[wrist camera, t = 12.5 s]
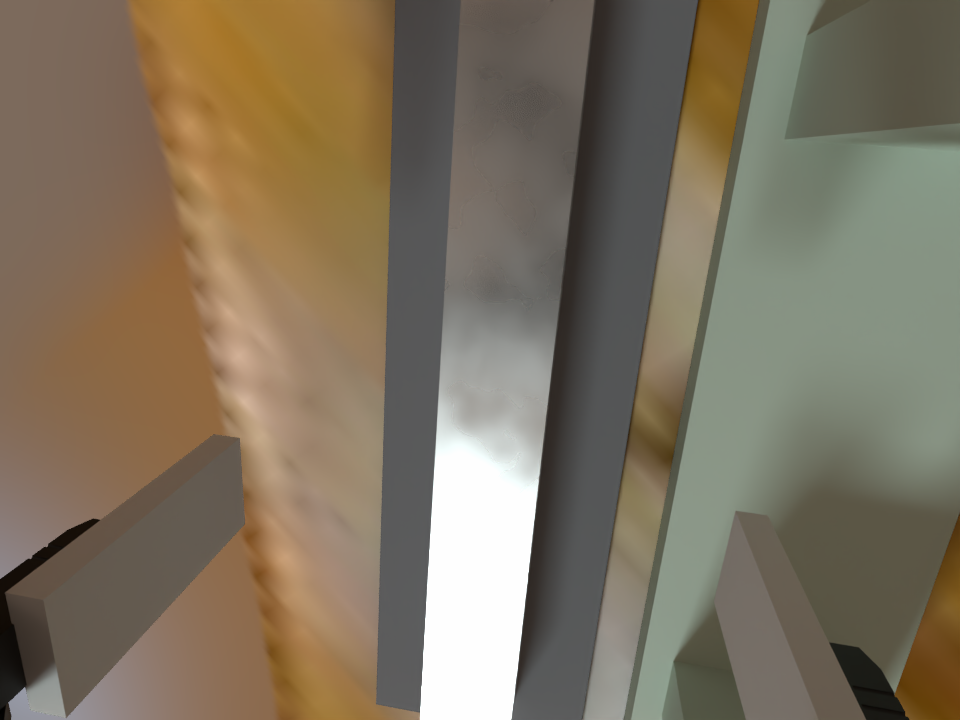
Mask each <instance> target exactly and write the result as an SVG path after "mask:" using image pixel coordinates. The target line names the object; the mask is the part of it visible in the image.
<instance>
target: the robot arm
mask: <svg viewBox="0 0 960 720" xmlns="http://www.w3.org/2000/svg"><path fill="white" fill-rule="evenodd" d="M244 524H245V517H244V501H243V484H242V468H241V452H240V438H236V437H229V436H222V435H215V434H214V435H212V436H211V437H210V438H208V439H207V440H206V441H204V442H203V443H202V444H200V445H199V446H198V447H196V448H195V449H194V450H192V451H191V452H190V453H188V454H187V455H186V456H185V457H183V458H182V459H181V460H179V461H178V462H177V463H175V464H174V465H173V466H171V467H170V468H169V469H168V470H166V471H165V472H163V473H162V474H161V475H159V476H158V477H157V478H156V479H154V480H153V481H152V482H150V483H149V484H148V485H146V486H145V487H144V488H142V489H141V490H140V491H138V492H137V493H136V494H135V495H133V496H132V497H131V498H129V499H128V500H127V501H125V502H124V503H123V504H121V505H120V506H119V507H118V508H116V509H115V510H113V511H112V512H111V513H109V514H108V515H107V516H106V517H104V518H103V519H101V520H98V519H91V520H89V521H87V522H84V523H83V524H80V525H78V526H75V527H73V528H71V529H69V530H67V531H66V532H64V533H63V534H61V535H60V536H59V537H57V538H56V539H55V540H53V541H52V542H50V543H49V544H48V547H44V548H42V549H41V550H40V551H38V552H37V553H35V554H34V555H33V556H32V559H27V560H26V561H24V562H23V563H22V564H20V565H19V566H18V567H16V568H15V569H14V570H12V571H11V572H9V573H8V574H7V575H5V576H4V577H2V578H1V579H0V720H11V713H10V708H9V704H8V702H9V701H10V700H11V699H13V698H14V696H16V695H17V694H18V693H19V692H20V691H21V690H22V689H23V688H24V687H25V688H26V692H27V697H28V701H29V706H30V710H32V711H36V712H41V713H45V714H50V715H54V716H59V717H64V718H67V716H68V715H69V714H70V713H71V712H72V711H73V710H74V709H75V708H76V707H77V706H78V704H79V703H80V702H81V701H82V700H83V699H84V698H85V697H86V696H87V695H88V694H89V693H90V691H91V690H92V689H93V688H94V687H95V686H96V685H97V684H98V683H99V682H100V681H101V680H102V679H103V677H104V676H105V675H106V674H107V673H108V672H109V671H110V670H111V669H112V668H113V666H114V665H115V664H116V663H117V662H118V661H119V660H120V659H121V658H122V656H124V655H125V654H126V652H127V651H128V650H129V649H130V648H131V647H132V646H133V645H134V644H135V643H136V642H137V640H138V639H139V638H140V637H141V636H142V635H143V634H144V633H145V632H146V631H147V630H148V629H149V628H150V626H151V625H152V624H153V623H154V622H155V621H156V620H157V619H158V618H159V617H160V616H161V614H162V613H163V612H164V611H165V610H166V609H167V608H168V607H169V606H170V605H171V604H172V602H173V601H174V600H175V599H176V598H177V597H178V596H179V595H180V594H181V593H182V592H183V591H184V590H185V588H186V587H187V586H188V585H189V584H190V583H191V582H192V581H193V580H194V579H195V578H196V577H197V575H198V574H199V573H200V572H201V571H202V570H203V569H204V568H205V567H206V566H207V565H208V564H209V562H210V561H211V560H212V559H213V558H214V557H215V556H216V555H217V554H218V553H219V552H220V550H221V549H222V548H223V547H224V546H225V545H226V544H227V543H228V542H229V541H230V540H231V539H232V537H233V536H234V535H235V534H236V533H237V532H238V531H239V530H240V529H241V528H242V527H243V526H244ZM714 604H715V607H716V611H717V615H718V619H719V622H720V626H721V630H722V633H723V637H724V641H725V644H726V648H727V652H728V655H729V659H730V663H731V667H732V670H733V674H734V678H735V681H736V685H737V689H738V692H739V696H740V700H741V703H742V707H743V711H744V715H745V718H746V720H909V718H908V717H905V711H904V709H903V707H902V706H901V704H900V702H899V700H898V698H897V697H895V696H894V691H893V690H892V688H891V686H890V684H889V682H888V681H887V679H886V677H885V675H884V673H883V672H882V670H881V669H880V668H879V667H878V666H877V665H876V664H875V663H874V662H873V661H872V660H871V659H870V658H869V657H868V656H867V655H866V654H865V653H864V652H863V651H862V650H861V649H860V648H859V647H854V646H848V645H842V644H836V643H831V642H828V639H827V637H826V635H825V633H824V631H823V629H822V627H821V625H820V623H819V621H818V619H817V617H816V614H815V612H814V610H813V608H812V606H811V604H810V602H809V600H808V598H807V596H806V594H805V592H804V590H803V587H802V585H801V583H800V581H799V579H798V577H797V575H796V573H795V571H794V569H793V567H792V565H791V563H790V560H789V558H788V556H787V554H786V552H785V550H784V548H783V546H782V544H781V542H780V540H779V538H778V536H777V533H776V531H775V529H774V527H773V525H772V523H771V521H770V519H769V517H768V515H762V514H755V513H748V512H741V511H735V515H734V519H733V523H732V527H731V532H730V536H729V540H728V544H727V549H726V553H725V557H724V561H723V565H722V570H721V574H720V578H719V582H718V587H717V591H716V595H715V599H714Z"/></svg>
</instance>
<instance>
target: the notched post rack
mask: <svg viewBox="0 0 960 720" xmlns="http://www.w3.org/2000/svg"><path fill="white" fill-rule="evenodd" d="M735 511H741V512H748V513H755V514H762V515H768V517H769V519H770V521H771V523H772V525H773V527H774V529H775V531H776V533H777V536H778V538H779V540H780V542H781V544H782V546H783V548H784V550H785V552H786V554H787V556H788V558H789V560H790V563H791V565H792V567H793V569H794V571H795V573H796V575H797V577H798V579H799V581H800V583H801V585H802V587H803V590H804V592H805V594H806V596H807V598H808V600H809V602H810V604H811V606H812V608H813V610H814V612H815V614H816V617H817V619H818V621H819V623H820V625H821V627H822V629H823V631H824V633H825V635H826V637H827V639H828V642H831V643H836V644H842V645H848V646H854V647H859V648H860V649H861V650H862V651H863V652H864V653H865V654H866V655H867V656H868V657H869V658H870V659H871V660H872V661H873V662H874V663H875V664H876V665H877V666H878V667H879V668H880V669H881V670H882V672H883V673H884V675H885V677H886V679H887V681H888V682H889V684H890V686H891V688H892V690H893V691H894V694H895V691H896V688H897V686H898V683H899V680H900V677H901V674H902V672H903V669H904V666H905V663H906V661H907V658H908V655H909V652H910V649H911V647H912V644H913V641H914V638H915V635H916V633H917V630H918V627H919V624H920V622H921V619H922V616H923V613H924V610H925V608H926V605H927V602H928V599H929V596H930V594H931V591H932V588H933V585H934V583H935V580H936V577H937V574H938V571H939V569H940V566H941V563H942V560H943V557H944V555H945V552H946V549H947V546H948V544H949V541H950V538H951V535H952V532H953V530H954V527H955V524H956V521H957V518H958V516H959V513H960V0H759V5H758V11H757V16H756V21H755V27H754V32H753V37H752V43H751V48H750V53H749V58H748V64H747V69H746V74H745V80H744V85H743V90H742V96H741V101H740V106H739V111H738V117H737V122H736V127H735V133H734V138H733V143H732V149H731V154H730V159H729V164H728V170H727V175H726V180H725V186H724V191H723V196H722V202H721V207H720V212H719V217H718V223H717V228H716V233H715V239H714V244H713V249H712V255H711V260H710V265H709V270H708V276H707V281H706V286H705V292H704V297H703V302H702V308H701V313H700V318H699V323H698V329H697V334H696V339H695V345H694V350H693V355H692V361H691V366H690V371H689V376H688V382H687V387H686V392H685V398H684V403H683V408H682V414H681V419H680V424H679V429H678V435H677V440H676V445H675V451H674V456H673V461H672V467H671V472H670V477H669V482H668V488H667V493H666V498H665V504H664V509H663V514H662V520H661V525H660V530H659V535H658V541H657V546H656V551H655V557H654V562H653V567H652V573H651V578H650V583H649V588H648V594H647V599H646V604H645V610H644V615H643V620H642V626H641V631H640V636H639V641H638V647H637V652H636V657H635V663H634V668H633V673H632V679H631V684H630V689H629V694H628V700H627V705H626V710H625V716H624V720H746V718H745V715H744V711H743V707H742V703H741V700H740V696H739V692H738V689H737V685H736V681H735V678H734V674H733V670H732V667H731V663H730V659H729V655H728V652H727V648H726V644H725V641H724V637H723V633H722V630H721V626H720V622H719V619H718V615H717V611H716V607H715V604H714V599H715V595H716V591H717V587H718V582H719V578H720V574H721V570H722V565H723V561H724V557H725V553H726V549H727V544H728V540H729V536H730V532H731V527H732V523H733V519H734V515H735Z"/></svg>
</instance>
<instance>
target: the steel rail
mask: <svg viewBox="0 0 960 720" xmlns="http://www.w3.org/2000/svg"><path fill="white" fill-rule="evenodd" d="M595 5H596V0H461V5H460V23H459V41H458V59H457V77H456V94H455V112H454V130H453V148H452V166H451V183H450V201H449V219H448V237H447V255H446V272H445V290H444V308H443V326H442V343H441V361H440V379H439V397H438V415H437V432H436V450H435V468H434V486H433V504H432V521H431V539H430V557H429V575H428V593H427V610H426V628H425V646H424V664H423V682H422V699H421V717H420V720H512V717H513V710H514V702H515V694H516V685H517V676H518V668H519V659H520V650H521V642H522V633H523V625H524V616H525V607H526V599H527V590H528V582H529V573H530V564H531V556H532V547H533V539H534V530H535V521H536V513H537V504H538V496H539V487H540V478H541V470H542V461H543V453H544V444H545V435H546V427H547V418H548V410H549V401H550V392H551V384H552V375H553V367H554V358H555V349H556V341H557V332H558V323H559V315H560V306H561V298H562V289H563V280H564V272H565V263H566V255H567V246H568V237H569V229H570V220H571V212H572V203H573V194H574V186H575V177H576V169H577V160H578V151H579V143H580V134H581V126H582V117H583V108H584V100H585V91H586V83H587V74H588V65H589V57H590V48H591V39H592V31H593V22H594V14H595Z"/></svg>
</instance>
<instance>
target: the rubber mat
mask: <svg viewBox="0 0 960 720" xmlns="http://www.w3.org/2000/svg"><path fill="white" fill-rule="evenodd" d="M697 4H698V0H596V5H595V14H594V22H593V31H592V39H591V48H590V57H589V65H588V74H587V83H586V91H585V100H584V108H583V117H582V126H581V134H580V143H579V151H578V160H577V169H576V177H575V186H574V194H573V203H572V212H571V220H570V229H569V237H568V246H567V255H566V263H565V272H564V280H563V289H562V298H561V306H560V315H559V323H558V332H557V341H556V349H555V358H554V367H553V375H552V384H551V392H550V401H549V410H548V418H547V427H546V435H545V444H544V453H543V461H542V470H541V478H540V487H539V496H538V504H537V513H536V521H535V530H534V539H533V547H532V556H531V564H530V573H529V582H528V590H527V599H526V607H525V616H524V625H523V633H522V642H521V650H520V659H519V668H518V676H517V685H516V694H515V702H514V710H513V717H512V720H582V716H583V710H584V704H585V697H586V691H587V685H588V679H589V673H590V666H591V660H592V654H593V648H594V642H595V636H596V629H597V623H598V617H599V611H600V605H601V598H602V592H603V586H604V580H605V574H606V567H607V561H608V555H609V549H610V543H611V536H612V530H613V524H614V518H615V512H616V505H617V499H618V493H619V487H620V481H621V474H622V468H623V462H624V456H625V450H626V444H627V437H628V431H629V425H630V419H631V413H632V406H633V400H634V394H635V388H636V382H637V375H638V369H639V363H640V357H641V351H642V344H643V338H644V332H645V326H646V320H647V313H648V307H649V301H650V295H651V289H652V282H653V276H654V270H655V264H656V258H657V251H658V245H659V239H660V233H661V227H662V221H663V214H664V208H665V202H666V196H667V190H668V183H669V177H670V171H671V165H672V159H673V152H674V146H675V140H676V134H677V128H678V121H679V115H680V109H681V103H682V97H683V90H684V84H685V78H686V72H687V66H688V59H689V53H690V47H691V41H692V35H693V28H694V22H695V16H696V10H697ZM460 5H461V0H395V37H394V74H393V110H392V147H391V184H390V220H389V257H388V294H387V331H386V367H385V404H384V441H383V477H382V514H381V551H380V587H379V624H378V661H377V698H376V704H378V705H383V706H388V707H394V708H399V709H404V710H409V711H414V712H420V713H421V699H422V682H423V664H424V646H425V628H426V610H427V593H428V575H429V557H430V539H431V521H432V504H433V486H434V468H435V450H436V432H437V415H438V397H439V379H440V361H441V343H442V326H443V308H444V290H445V272H446V255H447V237H448V219H449V201H450V183H451V166H452V148H453V130H454V112H455V94H456V77H457V59H458V41H459V23H460Z"/></svg>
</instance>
